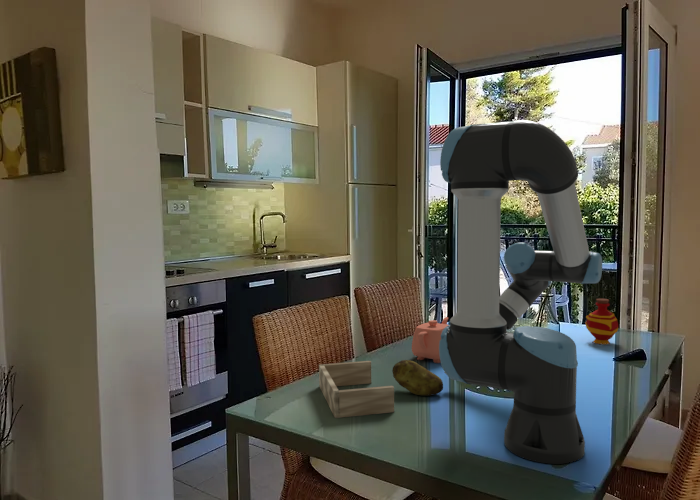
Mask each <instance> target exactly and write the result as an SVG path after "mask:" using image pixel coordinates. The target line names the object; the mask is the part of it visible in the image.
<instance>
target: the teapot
mask: <svg viewBox="0 0 700 500" xmlns="http://www.w3.org/2000/svg"><path fill="white" fill-rule="evenodd" d="M448 321H449V317H448V316H446V317H444V318H443V319H442V321H441V323H439V322H438V320H436V319H431V320H428V322H424V323H422V324H419V325H417V326H416V327H415V331H414V333H413V337H412V341H411V352H412V355H413V356H415V357H416V360H418V361H423V360H425V359H431V360H432V361H433V363H435V364H441V361H440V355H439V342H440V340H441V333H442V331H443V330H444V328H445V327H447V326H449V325H450V324H448Z"/></svg>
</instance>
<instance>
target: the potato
mask: <svg viewBox="0 0 700 500" xmlns="http://www.w3.org/2000/svg"><path fill="white" fill-rule="evenodd" d="M391 371H392V376H393V379H394V380H395V381H396V382H397V383H398V384H399V386H400V387H402V388H404V389H406V390H407V391H408V392H409V393H411V394H413V395H417V396H435V395H438V394H440V393H441V392H442V391H443V390H444V383H443V380H442V379H441V377H440V376H438V375H436V374H435V373H434V372H432V371H430V370H429V369H428V368H426V367H424V366H423V365H420V364H419V363H417V362H416V361H415V360H414V361H413V360H409V359H402V360H400V361H397V362H396V363H395V364H394V365H393V366H392V370H391Z"/></svg>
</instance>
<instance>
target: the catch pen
mask: <svg viewBox="0 0 700 500" xmlns="http://www.w3.org/2000/svg"><path fill="white" fill-rule="evenodd" d="M318 380H319V381H318V383H319V386H318V387H319V389H320V391H321V393H322V394H323V397H324V399H325V401H326V402H327V405H328V407H329V408H330V411H331V413H332V415H333V417H334V419H339V418H349V417H359V416H369V415H370V416H371V415H378V414H388V413H395V387H394V385H383V386H382V385H381V386H374V387H373V386H372V387H363V388H353V389H352V388H351V389H350V388H349V389H340V390H339V388H338V387H343V386H344V387H347V386H357V385H367V384H368V385H369V384H372V361H371V360H363V361H361V360H360V361H359V360H358V361H350V362H336V363H334V362H333V363H322V364H318Z"/></svg>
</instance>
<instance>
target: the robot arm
mask: <svg viewBox="0 0 700 500" xmlns="http://www.w3.org/2000/svg"><path fill="white" fill-rule="evenodd" d="M440 171H441V176H442V179H443V181H444V182H446V183H448V184H450V185H451V186H450V189H451V190H450V191H451V193H452V194H454V196H456V198H457V199H458V202H457V203H458V204H457V205H458V208H457V209H458V212H457V215H458V216H457V220H458V221H457V306H456V309H457V312H456V313H455V314H454V315H453V316H452V317H451V318H450V319H449V324H448V325H449V326H447V327H445V328H444V330H443V331H442V333H441V340H440V342H439V355H440V361H441V363H440V365H441V367H442V370H443V371H444V372H443V373H444V374H445V375H446V376H447V377H448V378H449V379H450V380H452V381H458V382H461V383H464V384H466V385H476V386H481V387H488V388H492V389H498V390H499V389H500V390H504V391H511V392H513V406H512V409H511V412H510V415H509V417H508V421H507V422H506V425H505V428H504V432H503V433H504V435H503V440H504V441H503V443H504V446H505V447H506V449H507V450H509V451H510V452H511V453H512V454H514V455H516V456H518V457H521V458H523V459H525V460H529V461H532V462H537V463H541V464H549V465H551V464H552V465H555V464H556V465H561V464H569V462H570V463H574V462H577V461H579V460H581V459H582V458H583V457H584V456H585V449H586V448H585V447H586V442H585V441H586V440H585V437H584V434H583V431H582V427H581V425H580V422H579V418H578V415H577V412H576V411H577V409H576V408H577V372H578V370H577V369H578V366H579V365H578V364H579V363H578V360H577V359H578V356H577V345H576V342H575V341H574V340H573V338H571V337H570V336H568V335H567V334H565V333H563V332H561V331H559V330H555V329H552V328H549V327H548V328H547V327H542V326H531V325H530V326H529V325H523V326H517V327H515V329H514V331H513V332H509V331H508V330H511V329H512V328H513V326H515V324H516V323H517V322H518V319H519V318H521V317H522V316H523V315H524V314H526V312H527V310H528V309H529V308H530V307H531V306H532V305H533V303H535V302H536V300H537V299H538V298H539V297H540V296H541V295H542V294H543V292H544V291H546V290H547V289H548V287H549V286H550V284H551V283H552V282H557V283H558V282H559V283H560V282H561V283H569V284H570V283H573V284H581V285H583V284H598V283H599V282H600V281H601V278H602V276H603V275H602V273H603V258H602V255H601V253H599V252H594V251H590V250H589V245H588V243H589V242H588V239H587V235H586V230H585V227H584V226H585V225H584V221H583V215H582V211H581V207H580V201H579V197H578V192H577V187H576V182H577V180H578V176H579V169H578V166H577V161H576V159H575V156H574V154H573V152H572V150H571V149H570V147H569V145H567V143H566V142H565V141H564V140H563V139H562V138H561V137H560V136H559V134H557V133H556V132H555V131H553V130H552V129H550V128H549V127H548V126H545V125H543V124H541V123H539V122H536V121H533V120H528V119H527V120H526V119H522V120H521V119H519V120H515V121H503V122H501V121H500V122H490V123H478V124H477V123H476V124H469V125H465V126H459V127H455V128H454V129H452V130H451V131H450V132H449V133H448V134H447V136H446V138H445V140H444V141H443V145H442V148H441V153H440ZM511 181H512V182H513V181H526V182H527V183H528V186H529V188H530V189H531V190H532V191H533V192H534V193H536V195H537V200H538V202H539V206H540V208H541V213H542V216H543V219H544V222H545V226H546V229H547V232H548V237H549V239H550V244H551V246H552V249H553V250H538V249H537V250H534V248H533V247H532V246H531V245H530V244H528V243H525V242H520V241H519V242H516V243H513V244H510V246H508V247H507V249H506V250H505V252H504V254H503V261H504V262H505V266H506V269H507V271H508V273H509V274H510V277H511V278H512V280H513V281H512V283H510V285H509V286H508V287H507V288H506V289H505V290H504V291H503V292H502V293H501V295H500V290H501V289H500V285H501V284H500V281H501V280H500V279H501V278H500V276H501V275H500V274H501V269H500V268H501V221H502V219H501V214H502V212H501V211H502V209H501V208H502V207H501V206H502V204H501V203H502V201H501V200H502V198H503V197H504V195H505V194H507V193H508V192H509V189H510V187H509V186H510V185H509V183H510V182H511ZM578 459H579V460H578ZM576 460H577V461H576ZM573 461H574V462H573Z"/></svg>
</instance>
